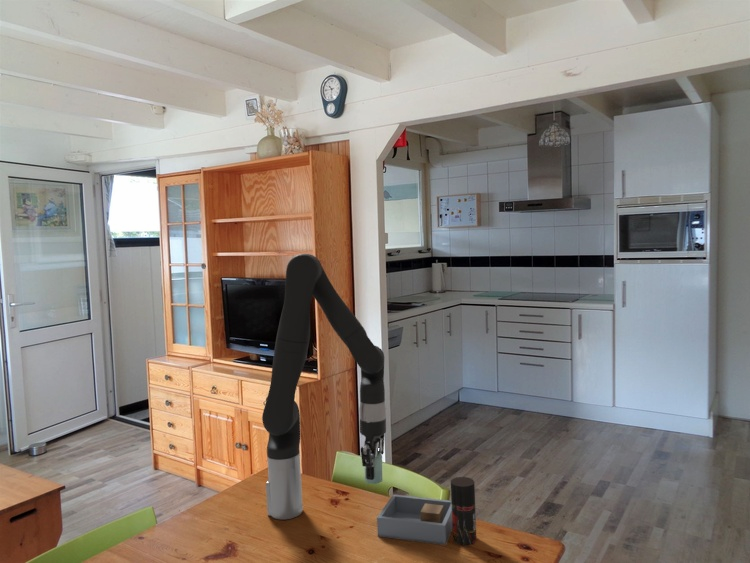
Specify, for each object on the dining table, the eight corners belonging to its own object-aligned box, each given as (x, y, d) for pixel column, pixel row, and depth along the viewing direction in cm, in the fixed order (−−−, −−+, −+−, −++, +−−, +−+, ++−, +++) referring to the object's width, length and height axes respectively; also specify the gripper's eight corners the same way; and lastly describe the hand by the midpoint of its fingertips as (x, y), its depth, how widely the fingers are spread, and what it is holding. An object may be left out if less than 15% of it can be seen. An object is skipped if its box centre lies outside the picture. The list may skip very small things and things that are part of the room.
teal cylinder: (362, 482, 156) (362, 458, 156) (368, 475, 161) (368, 452, 161) (379, 484, 155) (378, 460, 154) (384, 477, 159) (384, 453, 159)
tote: (377, 536, 144) (376, 517, 144) (393, 511, 157) (393, 494, 157) (445, 545, 138) (445, 525, 137) (456, 519, 151) (455, 501, 151)
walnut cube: (421, 530, 144) (420, 511, 144) (425, 521, 149) (425, 503, 149) (439, 532, 143) (439, 514, 143) (444, 523, 147) (443, 505, 147)
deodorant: (476, 546, 137) (474, 487, 136) (452, 544, 138) (449, 486, 137) (476, 534, 142) (474, 477, 142) (453, 532, 144) (451, 476, 143)
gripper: (368, 408, 165) (369, 464, 166) (351, 422, 151) (352, 483, 152) (392, 410, 162) (393, 467, 163) (376, 425, 149) (377, 487, 150)
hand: (373, 475), depth 158 cm, fingers closed on teal cylinder, 5 cm apart
